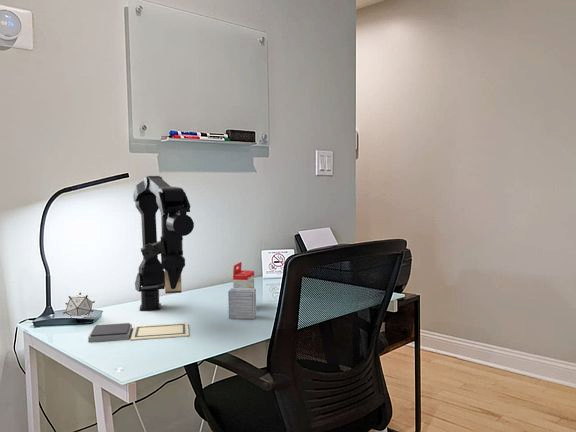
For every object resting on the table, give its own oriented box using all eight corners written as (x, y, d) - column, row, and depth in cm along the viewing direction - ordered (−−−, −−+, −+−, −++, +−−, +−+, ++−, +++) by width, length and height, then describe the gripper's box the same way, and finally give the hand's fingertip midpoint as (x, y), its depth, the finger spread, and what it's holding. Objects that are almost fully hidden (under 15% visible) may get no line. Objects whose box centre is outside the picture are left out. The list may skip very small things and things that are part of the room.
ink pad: (94, 330, 137) (94, 324, 137) (132, 328, 139) (131, 322, 139) (88, 342, 127) (88, 335, 127) (128, 339, 130) (128, 332, 130)
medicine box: (256, 315, 152) (256, 288, 152) (254, 319, 148) (253, 291, 147) (231, 315, 153) (231, 287, 152) (228, 319, 149) (227, 290, 148)
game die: (75, 334, 146) (52, 312, 141) (78, 317, 153) (57, 295, 148) (101, 319, 146) (80, 296, 141) (103, 303, 153) (83, 280, 149)
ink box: (247, 311, 157) (247, 266, 156) (232, 311, 158) (232, 265, 157) (254, 305, 165) (254, 261, 164) (240, 304, 166) (240, 261, 165)
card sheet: (134, 327, 140) (134, 325, 140) (187, 323, 144) (187, 322, 144) (130, 340, 129) (130, 338, 129) (188, 336, 132) (188, 334, 132)
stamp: (165, 290, 141) (164, 269, 141) (180, 289, 143) (180, 268, 142) (165, 293, 137) (164, 272, 137) (181, 292, 138) (181, 271, 138)
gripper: (143, 229, 146) (144, 282, 147) (140, 237, 128) (142, 296, 129) (181, 228, 148) (182, 280, 150) (184, 235, 130) (185, 293, 132)
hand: (172, 287), depth 140 cm, fingers closed on stamp, 4 cm apart
